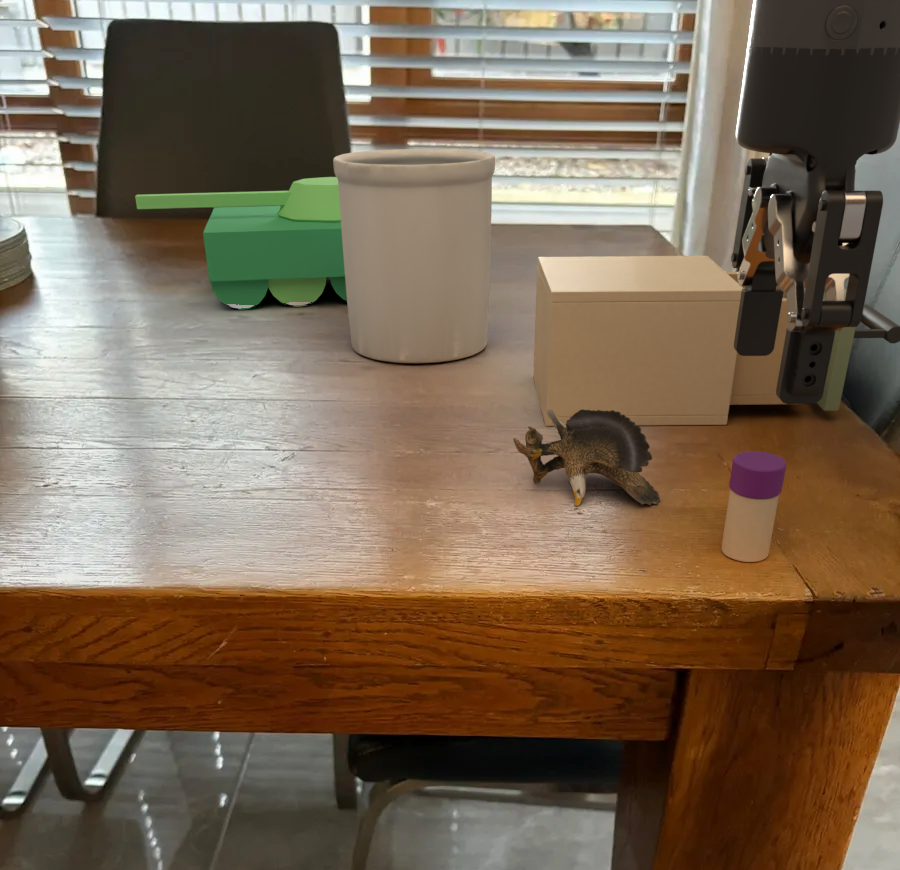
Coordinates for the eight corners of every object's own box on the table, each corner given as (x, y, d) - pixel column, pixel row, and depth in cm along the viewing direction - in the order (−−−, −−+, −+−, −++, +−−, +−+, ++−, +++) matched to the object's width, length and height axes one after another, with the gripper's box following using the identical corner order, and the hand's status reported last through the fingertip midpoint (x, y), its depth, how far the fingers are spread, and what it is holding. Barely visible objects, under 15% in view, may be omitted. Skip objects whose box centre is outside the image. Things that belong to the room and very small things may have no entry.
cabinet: (692, 375, 89) (707, 255, 84) (726, 424, 78) (746, 290, 73) (533, 377, 89) (537, 256, 84) (545, 426, 78) (551, 291, 73)
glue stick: (762, 540, 61) (778, 450, 58) (776, 563, 58) (793, 470, 55) (714, 540, 61) (727, 450, 58) (726, 563, 58) (740, 470, 55)
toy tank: (144, 176, 118) (432, 169, 122) (160, 281, 124) (433, 271, 128) (122, 197, 102) (452, 188, 106) (141, 316, 109) (452, 303, 113)
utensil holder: (345, 327, 104) (333, 147, 95) (483, 322, 105) (485, 144, 96) (344, 369, 92) (331, 166, 83) (502, 363, 93) (505, 163, 84)
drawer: (849, 367, 88) (870, 266, 84) (899, 410, 78) (926, 299, 74) (646, 368, 88) (655, 268, 84) (671, 412, 78) (683, 300, 74)
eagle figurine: (511, 500, 64) (651, 493, 60) (511, 392, 64) (650, 379, 61) (541, 517, 71) (667, 511, 68) (541, 420, 71) (666, 410, 68)
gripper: (982, 40, 40) (891, 421, 48) (855, 37, 52) (800, 340, 60) (798, 41, 40) (739, 421, 48) (714, 37, 52) (679, 340, 60)
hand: (773, 376), depth 54 cm, fingers open, 8 cm apart
